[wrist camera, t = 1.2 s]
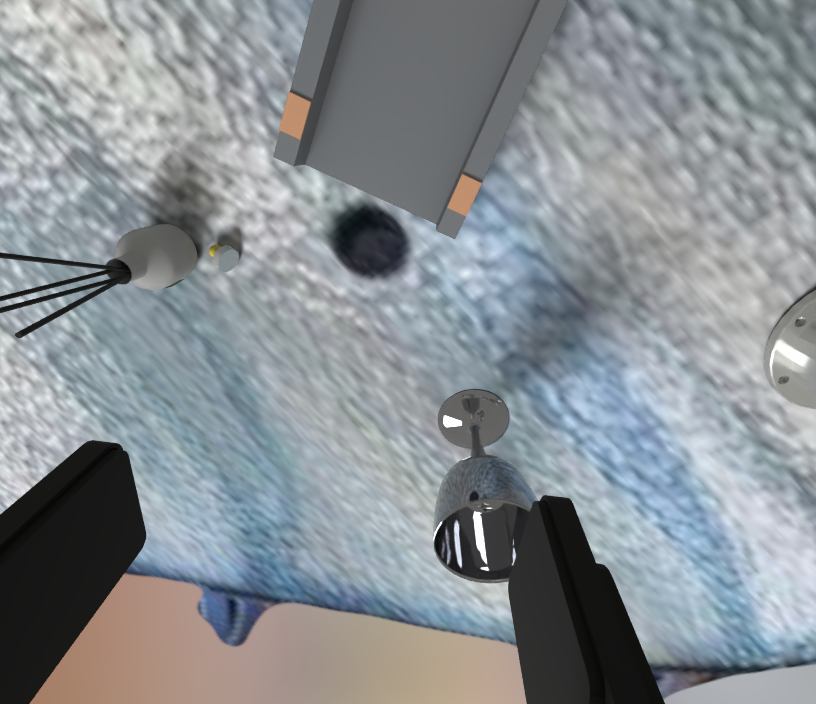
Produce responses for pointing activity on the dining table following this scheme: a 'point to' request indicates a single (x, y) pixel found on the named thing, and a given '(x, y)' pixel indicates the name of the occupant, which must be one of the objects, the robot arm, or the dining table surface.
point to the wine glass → (479, 493)
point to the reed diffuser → (130, 267)
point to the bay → (412, 95)
